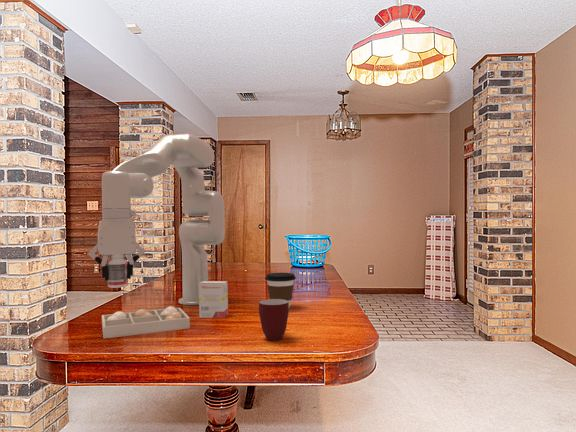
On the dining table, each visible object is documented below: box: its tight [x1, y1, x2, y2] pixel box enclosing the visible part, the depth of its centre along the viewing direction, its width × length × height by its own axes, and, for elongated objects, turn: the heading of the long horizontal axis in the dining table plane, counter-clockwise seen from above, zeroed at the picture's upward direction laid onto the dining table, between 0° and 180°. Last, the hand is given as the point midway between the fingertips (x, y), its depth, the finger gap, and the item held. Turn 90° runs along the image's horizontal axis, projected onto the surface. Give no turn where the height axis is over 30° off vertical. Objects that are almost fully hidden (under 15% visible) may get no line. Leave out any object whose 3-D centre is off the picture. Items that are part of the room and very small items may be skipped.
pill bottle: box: [106, 254, 129, 289], centre depth 125 cm, size 5×5×10 cm
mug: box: [258, 298, 290, 342], centre depth 121 cm, size 11×8×10 cm
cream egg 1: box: [107, 310, 127, 320], centre depth 132 cm, size 6×4×4 cm
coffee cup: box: [264, 272, 297, 308], centre depth 158 cm, size 11×11×12 cm
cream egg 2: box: [160, 305, 177, 315], centre depth 138 cm, size 6×4×4 cm
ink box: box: [198, 280, 229, 319], centre depth 145 cm, size 9×5×12 cm, turn 82°
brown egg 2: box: [164, 311, 182, 320], centre depth 131 cm, size 6×4×4 cm
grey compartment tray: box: [101, 307, 191, 340], centre depth 132 cm, size 23×16×4 cm
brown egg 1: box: [134, 308, 153, 317], centre depth 135 cm, size 6×4×4 cm
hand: (117, 278), depth 125 cm, fingers closed on pill bottle, 5 cm apart
